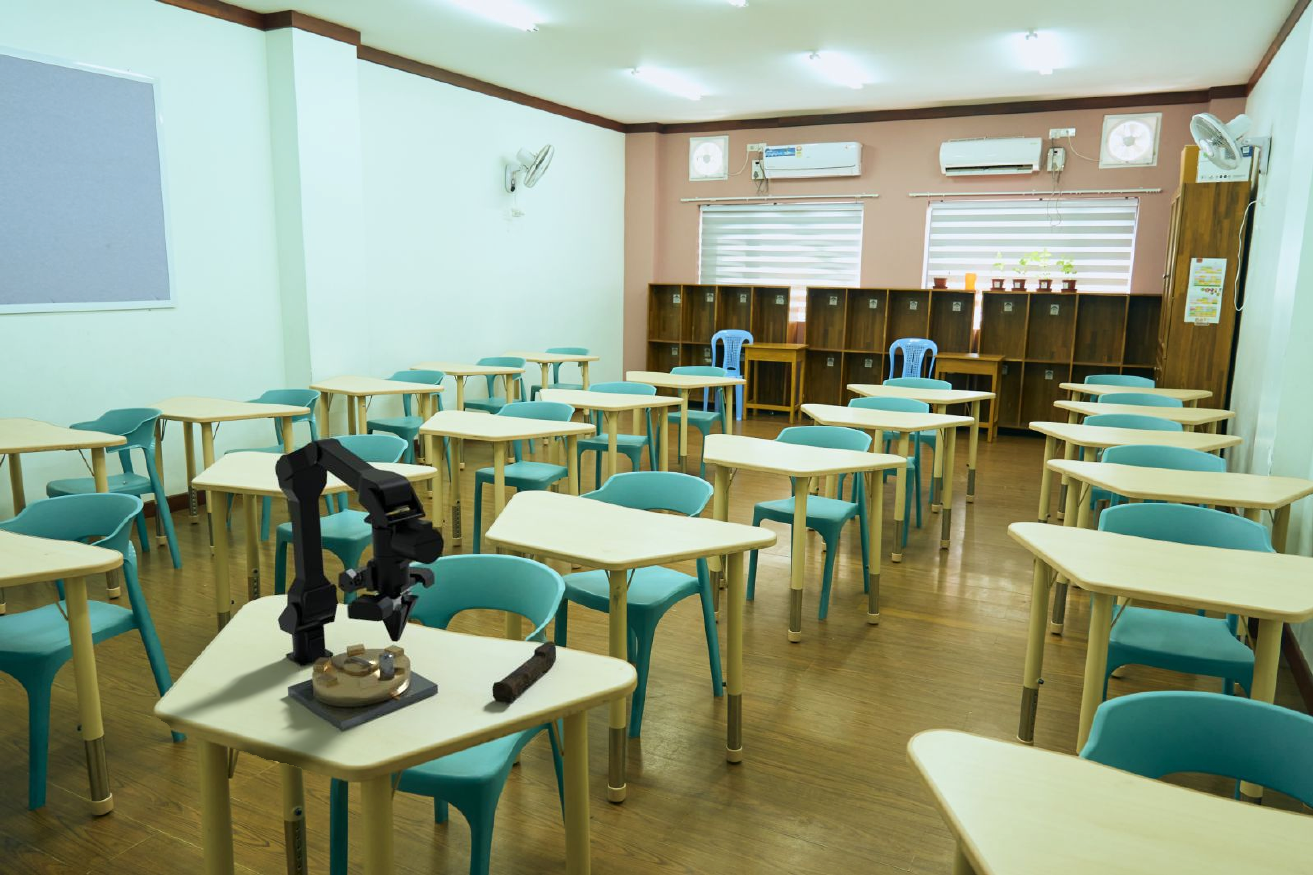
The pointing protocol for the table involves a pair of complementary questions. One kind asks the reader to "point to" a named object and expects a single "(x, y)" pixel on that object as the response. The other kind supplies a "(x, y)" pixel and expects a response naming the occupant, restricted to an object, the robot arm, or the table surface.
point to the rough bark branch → (525, 673)
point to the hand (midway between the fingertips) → (395, 640)
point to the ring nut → (361, 676)
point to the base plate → (360, 714)
